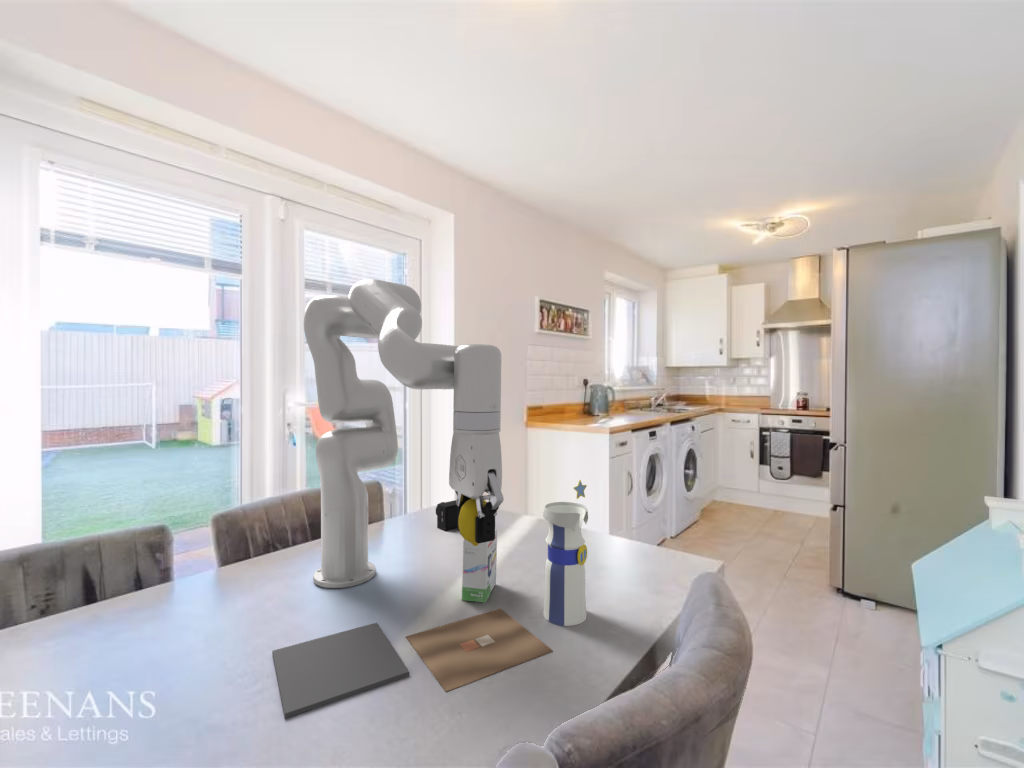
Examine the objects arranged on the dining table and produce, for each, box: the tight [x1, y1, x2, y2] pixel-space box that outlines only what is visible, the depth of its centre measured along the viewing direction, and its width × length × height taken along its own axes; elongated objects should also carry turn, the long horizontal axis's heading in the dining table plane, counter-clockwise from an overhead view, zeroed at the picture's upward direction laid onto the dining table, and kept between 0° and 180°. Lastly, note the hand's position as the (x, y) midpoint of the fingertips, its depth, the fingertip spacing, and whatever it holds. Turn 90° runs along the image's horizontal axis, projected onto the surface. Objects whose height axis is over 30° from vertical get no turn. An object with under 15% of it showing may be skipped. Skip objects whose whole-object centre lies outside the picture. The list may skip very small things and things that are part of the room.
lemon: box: [458, 499, 488, 546], centre depth 75 cm, size 6×6×8 cm
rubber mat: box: [271, 622, 410, 719], centre depth 69 cm, size 16×16×1 cm
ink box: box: [461, 528, 498, 603], centre depth 93 cm, size 9×5×12 cm, turn 168°
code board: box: [405, 608, 554, 693], centre depth 75 cm, size 16×18×1 cm
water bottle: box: [542, 479, 589, 627], centre depth 84 cm, size 8×9×25 cm
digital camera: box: [435, 499, 459, 532], centre depth 136 cm, size 10×5×7 cm, turn 132°
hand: (475, 534), depth 75 cm, fingers closed on lemon, 5 cm apart
